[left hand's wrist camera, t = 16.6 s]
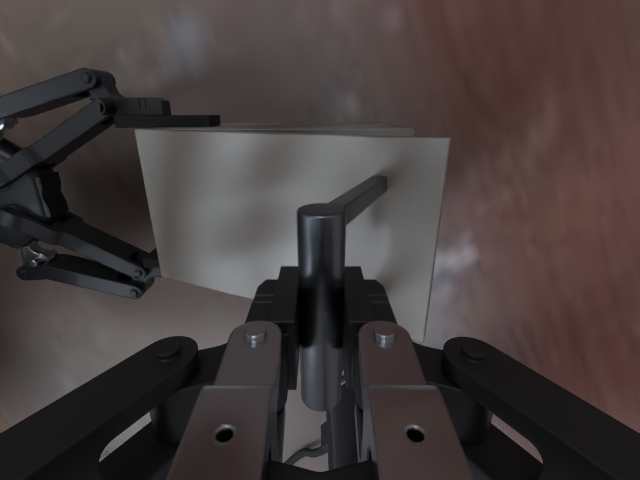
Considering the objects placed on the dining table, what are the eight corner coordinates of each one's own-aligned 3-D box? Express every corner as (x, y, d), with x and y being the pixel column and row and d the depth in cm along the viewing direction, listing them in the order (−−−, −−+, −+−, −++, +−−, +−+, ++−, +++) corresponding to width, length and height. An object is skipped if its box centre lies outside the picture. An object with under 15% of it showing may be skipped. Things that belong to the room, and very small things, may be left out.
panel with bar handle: (451, 137, 14) (424, 162, 7) (425, 334, 18) (390, 475, 11) (145, 128, 21) (-19, 137, 14) (170, 272, 25) (49, 335, 18)
